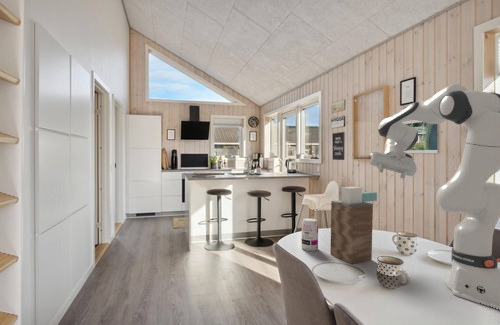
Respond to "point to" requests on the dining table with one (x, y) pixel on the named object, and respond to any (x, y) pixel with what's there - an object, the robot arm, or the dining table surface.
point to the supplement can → (309, 234)
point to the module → (356, 195)
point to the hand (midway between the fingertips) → (391, 174)
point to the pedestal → (351, 231)
